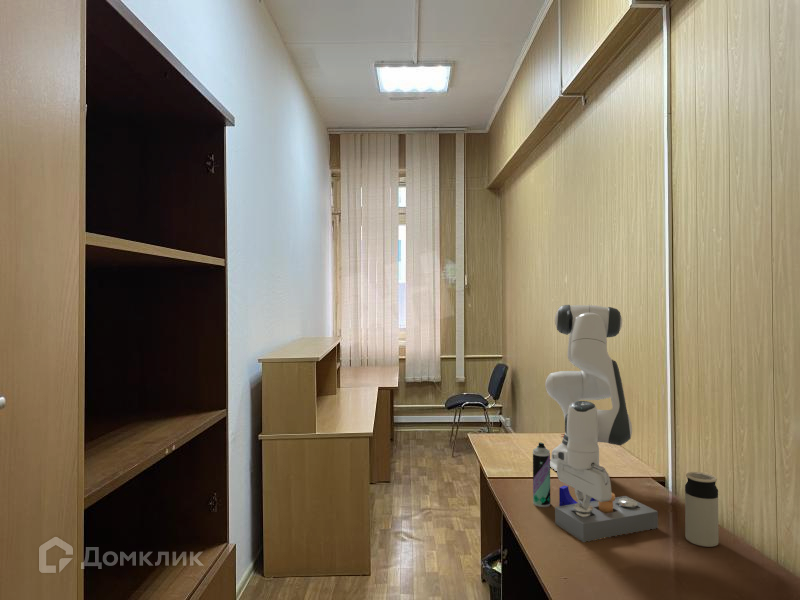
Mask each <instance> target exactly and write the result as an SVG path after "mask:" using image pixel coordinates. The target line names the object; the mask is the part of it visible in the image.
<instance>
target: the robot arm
mask: <svg viewBox="0 0 800 600" xmlns="http://www.w3.org/2000/svg"><path fill="white" fill-rule="evenodd" d="M554 325H555V328H556V330H557V332H559V333H560V334H563V335H568V342H567V343H568V345H567V355H566V356H567V359H568V361H569V363H570V364H571V365H573V366H575V367H576V368H578V369H579V370H560V371H555V372H550V373H549V374H548V375H547V377H546V379H545V383H544V386H545V387H544V388H545V390H546V392H547V394H548V396H549V397H550V398H551V399H553V400H554V401H555V402H556V403H557V404H558V405H559V407H560V409H561V411H562V413H563V417H564V433H563V434H560V435H561V436H560V437H561V438H562V441H561V443H560V444H558V445H557V446H556V447H554V448H553V449H552V451H551V455H550V467H551V468H553V469H554V470H555V471H557V472H556V474H557V479H558V480H559V482H561V483H562V484H564V485H566V486H568V487H570V488H572V489H574V495H575V496H576V499H577V502H578V505H580V506H582V507H584V508H589V502H590V500H591V498H594V499H596V500H597V501H599V502H606V501H610V499H611V498H612V493H613V492H612V483H611V479H610V476H609V473H608V471H607V470H606V468H605V467H604V466H601V465H600V447H599V444H598V443H607V444H610V445H614V446H615V445H616V446H620V447H621V446H622V445H624V444H626V443H627V442H629V440H631V438H632V435H633V426H632V421H631V418H630V416H629V413H628V409H627V403H626V397H625V392H624V388H623V387H624V386H623V382H622V377H621V373H620V369H619V368H620V367H619V365H618V363H617V362H616V360H614V359H612V358H611V357H610V354H609V352H608V338H615V337H616V336H618V335H619V333H620V331H621V330H622V327H623V318H622V314H621V311H619V310H618V309H617V308H615V307H611V306H608V307H607V306H601V305H593V304H589V305H586V304H575V305H574V304H573V305H571V304H564V305H560V306H559V307H558V309H557V311H556V313H555V316H554ZM604 399H610V400H611V405H612V408H611V409H599V408H598V409H597V406H596V404H594V403H593V402H591V401H601V400H604ZM588 400H589V401H588ZM551 468H550V469H551ZM553 469H552V470H553ZM554 470H553V471H554ZM555 471H554V472H555Z"/></svg>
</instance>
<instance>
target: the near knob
mask: <svg viewBox="0 0 800 600" xmlns="http://www.w3.org/2000/svg"><path fill="white" fill-rule="evenodd" d="M574 511H575V512H576V514H577V515H578V516H580V517H587V516H590V513H592V512H593V507H592V506H591V505H589V508H584V507H582V506H580V505H578V503H576V504H574Z"/></svg>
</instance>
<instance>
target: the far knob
mask: <svg viewBox="0 0 800 600" xmlns="http://www.w3.org/2000/svg"><path fill="white" fill-rule="evenodd" d="M630 498H631V497H629V498H620V499H618V505H619V506H621V507H623V508H625V509H627V510H628V509H634V508H637V502H638V501H637V500H636V499H633V498H631V499H630Z"/></svg>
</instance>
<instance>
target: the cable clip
mask: <svg viewBox="0 0 800 600" xmlns="http://www.w3.org/2000/svg"><path fill="white" fill-rule="evenodd" d="M558 494H559V496H558V497H559V498H558V499H559V500H558V501H559V502H558V503H559V505H558V506H565V505H571V504H576V503H578V501H577V500H575V499H574V498H573V496H572V494H571V493H570V489H569V485H566V484H564V485H561V486H559V493H558ZM590 501H596V499H594V498H591V500H590Z"/></svg>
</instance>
